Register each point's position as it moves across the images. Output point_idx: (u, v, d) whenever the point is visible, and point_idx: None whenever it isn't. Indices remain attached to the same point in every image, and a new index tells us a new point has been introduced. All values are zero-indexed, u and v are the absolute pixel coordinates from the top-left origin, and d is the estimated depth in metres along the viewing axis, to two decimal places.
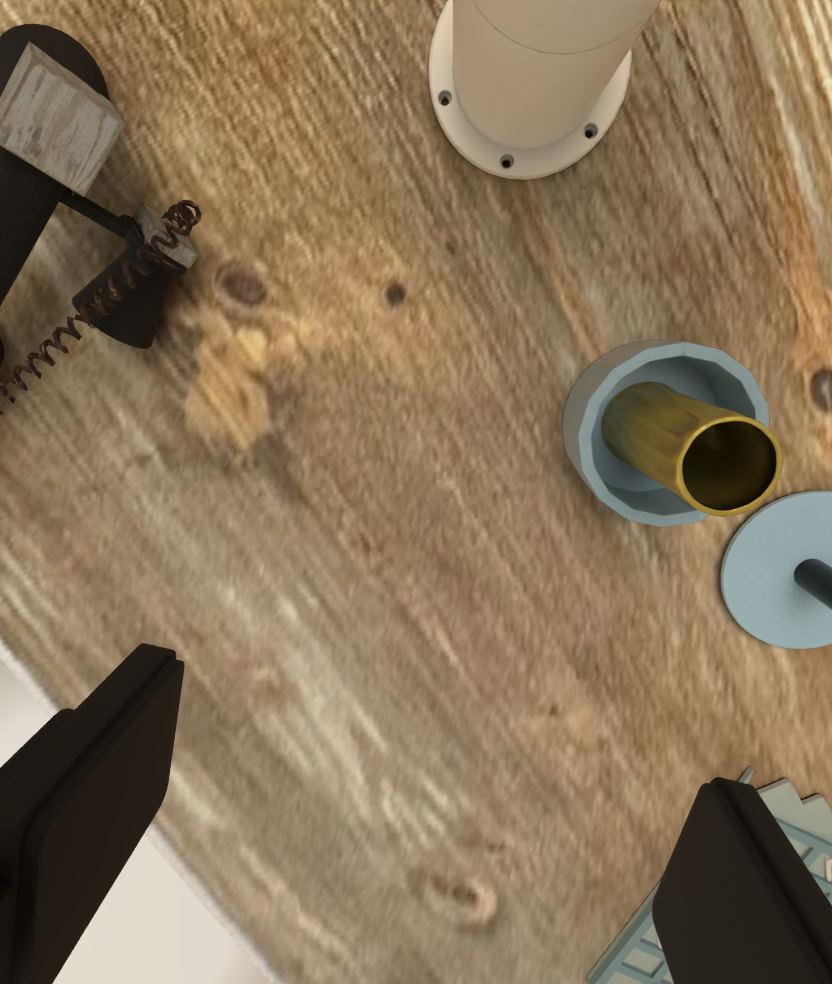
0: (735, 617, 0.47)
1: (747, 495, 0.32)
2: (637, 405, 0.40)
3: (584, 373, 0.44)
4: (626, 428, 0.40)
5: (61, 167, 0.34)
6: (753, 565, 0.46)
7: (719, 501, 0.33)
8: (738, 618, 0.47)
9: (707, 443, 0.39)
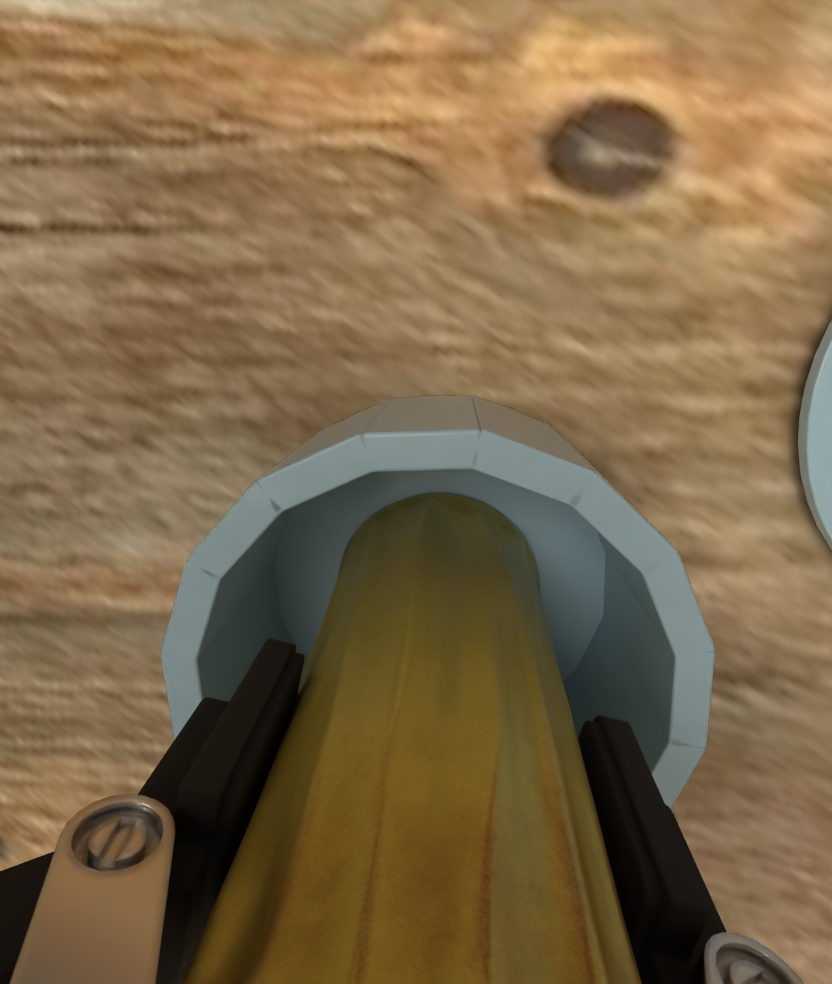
0: None
1: None
2: None
3: None
4: None
5: None
6: None
7: None
8: None
9: None
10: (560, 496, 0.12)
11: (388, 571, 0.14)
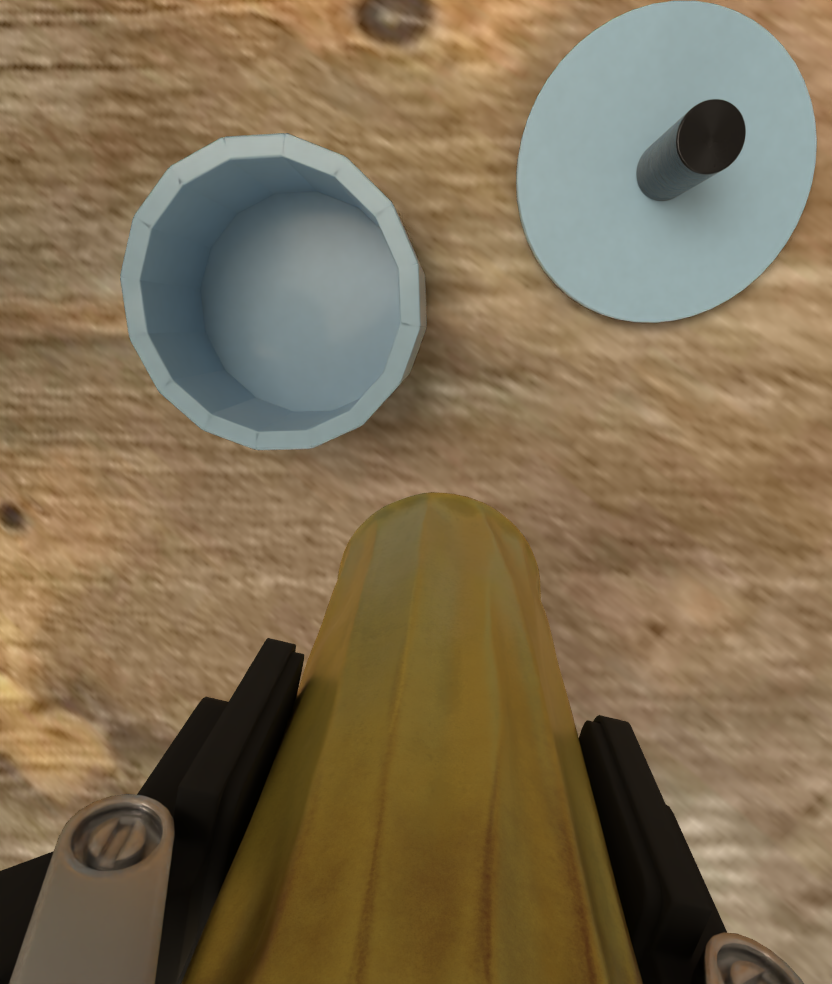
0: (666, 319, 0.28)
1: None
2: None
3: None
4: None
5: None
6: (597, 254, 0.28)
7: None
8: (670, 316, 0.28)
9: None
10: (328, 171, 0.22)
11: (389, 570, 0.14)
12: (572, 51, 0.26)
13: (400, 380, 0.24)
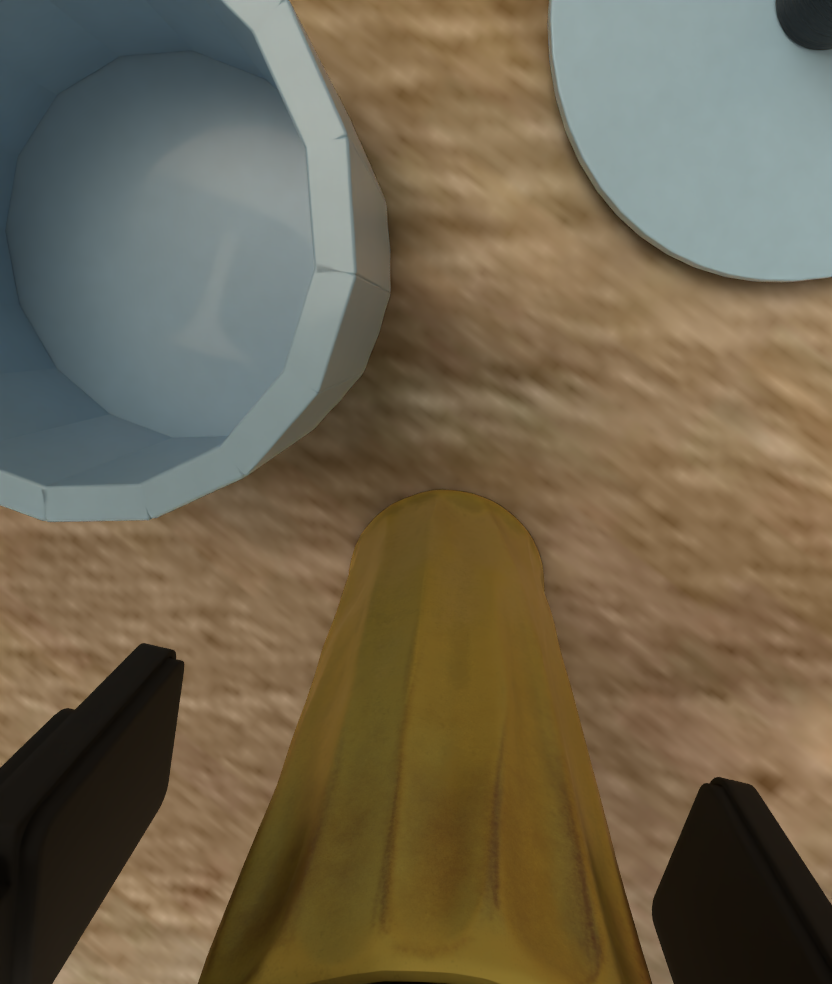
0: (817, 275, 0.16)
1: None
2: None
3: None
4: None
5: None
6: (696, 154, 0.15)
7: None
8: (825, 268, 0.16)
9: None
10: None
11: (400, 562, 0.14)
12: None
13: (318, 386, 0.12)
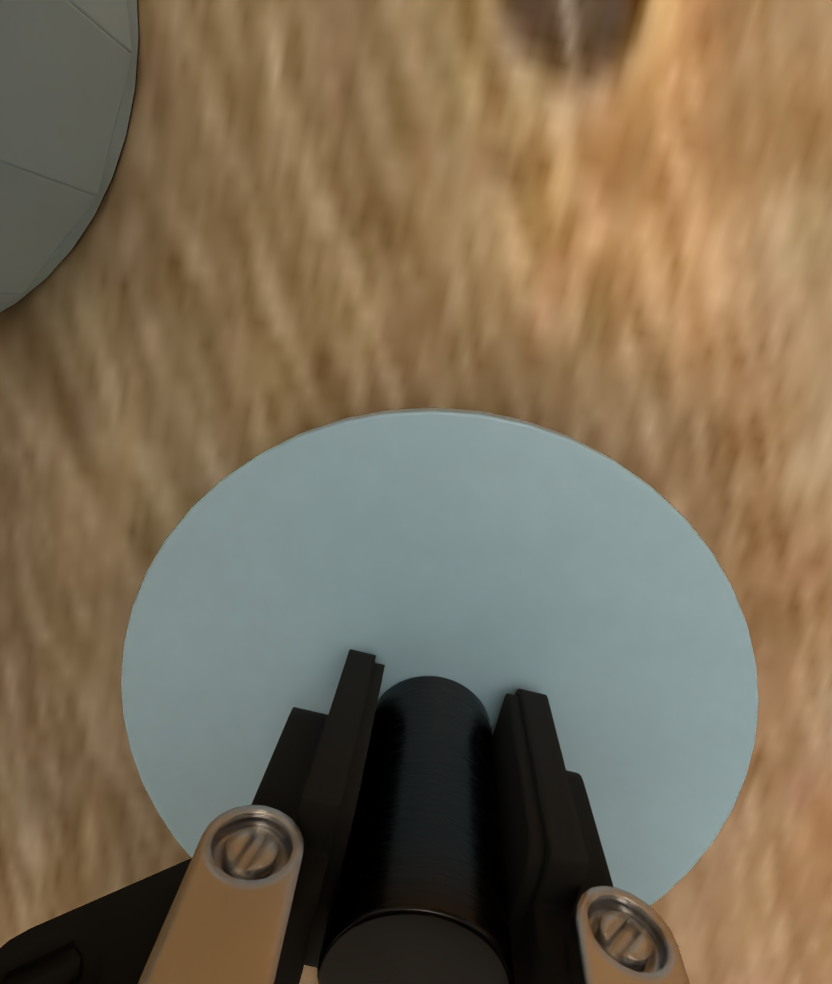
0: (173, 830, 0.13)
1: None
2: None
3: None
4: None
5: None
6: (226, 663, 0.12)
7: None
8: (182, 836, 0.13)
9: None
10: None
11: None
12: (596, 456, 0.11)
13: None
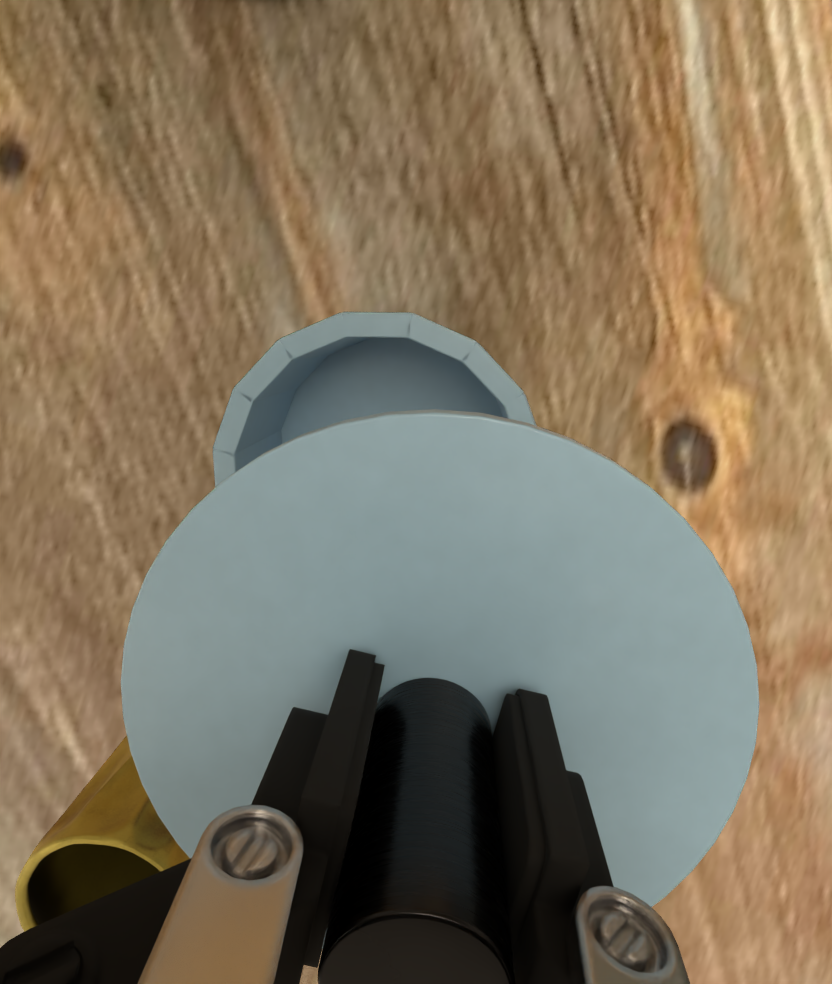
0: (173, 832, 0.13)
1: None
2: None
3: None
4: None
5: None
6: (226, 665, 0.12)
7: None
8: (182, 837, 0.13)
9: None
10: None
11: None
12: (596, 458, 0.11)
13: None
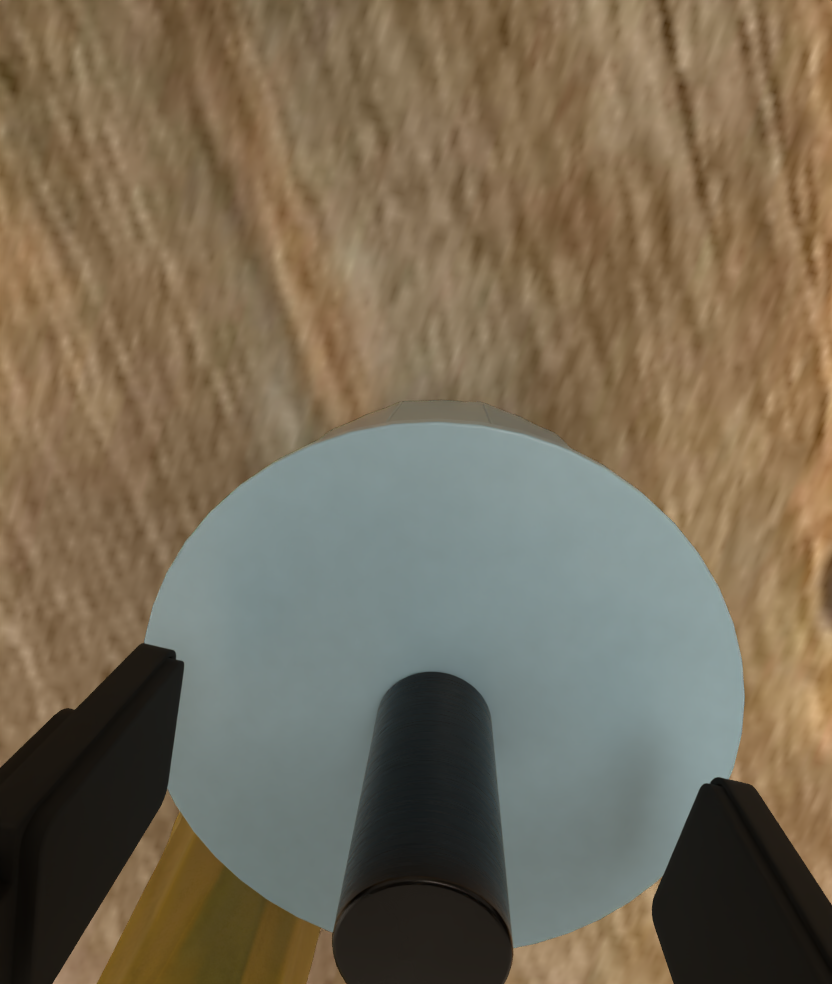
0: (189, 819, 0.14)
1: None
2: (152, 901, 0.18)
3: None
4: None
5: None
6: (241, 660, 0.13)
7: None
8: (197, 824, 0.14)
9: None
10: None
11: (271, 931, 0.17)
12: (590, 464, 0.11)
13: None
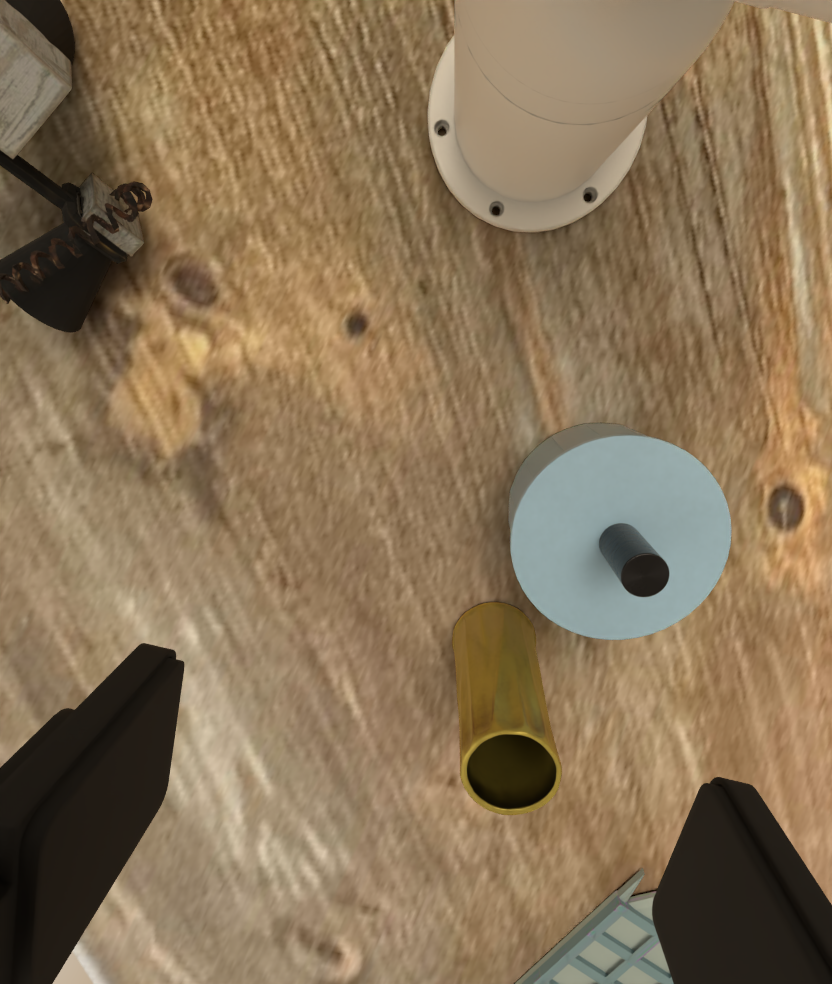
0: (521, 584, 0.37)
1: (531, 792, 0.33)
2: (475, 641, 0.41)
3: (541, 445, 0.41)
4: (460, 661, 0.41)
5: None
6: (550, 520, 0.36)
7: (507, 788, 0.34)
8: (525, 586, 0.37)
9: None
10: None
11: (530, 651, 0.40)
12: (680, 449, 0.34)
13: None
